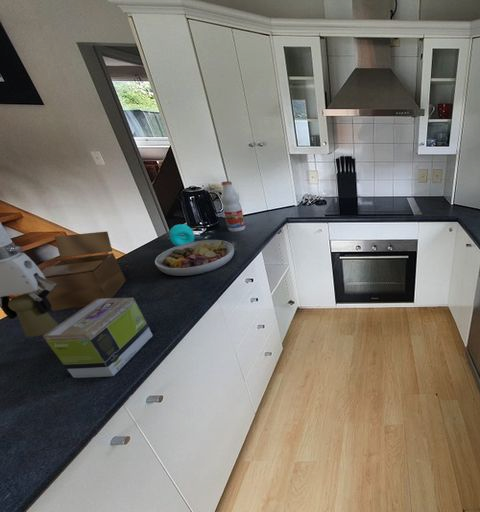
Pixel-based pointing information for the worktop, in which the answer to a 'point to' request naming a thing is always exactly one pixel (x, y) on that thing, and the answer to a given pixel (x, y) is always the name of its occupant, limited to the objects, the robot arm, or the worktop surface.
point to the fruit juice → (232, 208)
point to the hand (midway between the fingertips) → (31, 312)
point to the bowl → (195, 257)
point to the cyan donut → (181, 230)
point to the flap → (83, 244)
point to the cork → (31, 316)
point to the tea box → (100, 337)
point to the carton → (83, 280)
